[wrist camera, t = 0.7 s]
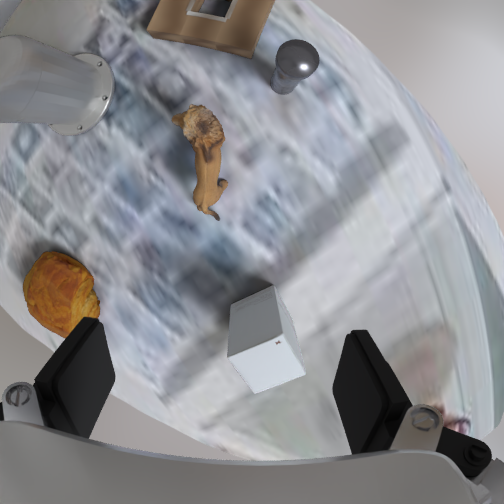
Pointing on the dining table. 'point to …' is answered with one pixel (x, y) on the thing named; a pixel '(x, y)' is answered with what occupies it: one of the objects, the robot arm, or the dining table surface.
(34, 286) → the croissant
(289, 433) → the dining table surface
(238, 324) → the supplement box
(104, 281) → the dining table surface
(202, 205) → the lion figurine
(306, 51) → the key peg
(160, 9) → the block
